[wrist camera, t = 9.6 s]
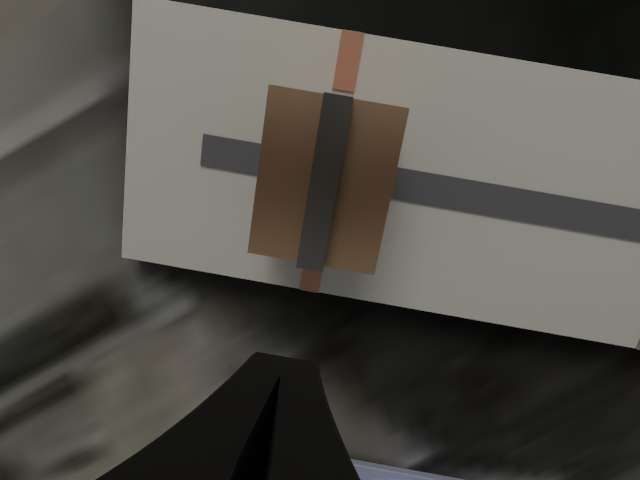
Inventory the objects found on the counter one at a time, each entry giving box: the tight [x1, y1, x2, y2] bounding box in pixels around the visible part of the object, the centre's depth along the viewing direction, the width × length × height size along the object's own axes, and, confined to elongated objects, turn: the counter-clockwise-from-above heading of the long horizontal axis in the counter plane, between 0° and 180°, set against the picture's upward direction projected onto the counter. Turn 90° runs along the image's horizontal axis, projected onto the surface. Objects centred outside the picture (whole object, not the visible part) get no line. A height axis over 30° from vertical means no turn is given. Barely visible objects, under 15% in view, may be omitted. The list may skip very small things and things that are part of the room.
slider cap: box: [247, 84, 410, 275], centre depth 14 cm, size 5×4×4 cm
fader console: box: [122, 0, 640, 350], centre depth 17 cm, size 10×28×2 cm, turn 81°
